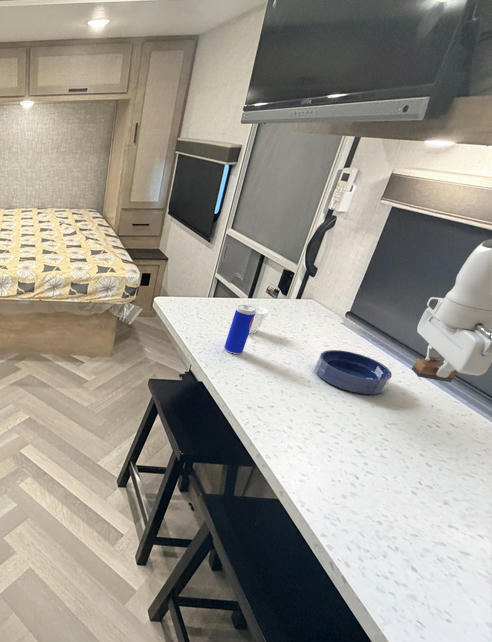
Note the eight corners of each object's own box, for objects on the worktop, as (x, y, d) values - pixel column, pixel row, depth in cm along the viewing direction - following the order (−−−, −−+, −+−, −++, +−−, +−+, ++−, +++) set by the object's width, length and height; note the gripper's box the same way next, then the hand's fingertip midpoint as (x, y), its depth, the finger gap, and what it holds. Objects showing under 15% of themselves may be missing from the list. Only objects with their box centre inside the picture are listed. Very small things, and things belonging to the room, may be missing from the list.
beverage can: (243, 356, 123) (258, 312, 116) (225, 353, 124) (238, 310, 117) (240, 347, 127) (254, 305, 120) (222, 345, 129) (235, 303, 122)
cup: (261, 329, 138) (269, 308, 134) (258, 340, 131) (266, 319, 127) (239, 323, 142) (245, 303, 138) (234, 334, 135) (241, 313, 131)
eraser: (442, 374, 91) (449, 363, 89) (450, 382, 88) (458, 371, 86) (411, 369, 93) (417, 358, 91) (418, 376, 90) (424, 365, 89)
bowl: (371, 371, 115) (379, 356, 112) (392, 401, 103) (402, 386, 100) (308, 360, 120) (314, 346, 118) (321, 387, 108) (328, 372, 106)
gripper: (522, 340, 74) (480, 399, 80) (462, 299, 90) (432, 351, 96) (475, 334, 76) (438, 392, 82) (426, 295, 92) (398, 346, 99)
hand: (434, 369), depth 89 cm, fingers closed on eraser, 3 cm apart
